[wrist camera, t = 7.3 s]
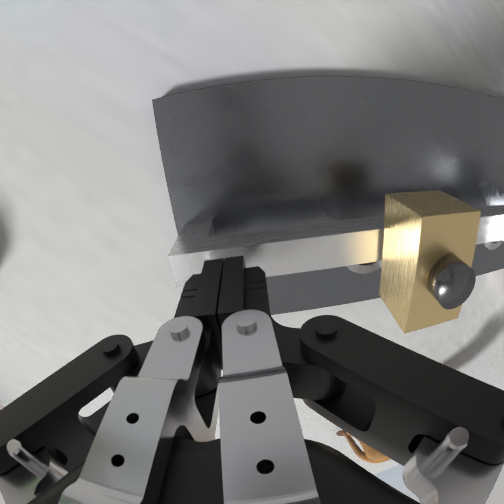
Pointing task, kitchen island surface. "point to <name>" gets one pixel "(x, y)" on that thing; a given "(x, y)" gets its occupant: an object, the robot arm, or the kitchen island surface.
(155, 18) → the kitchen island surface
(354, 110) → the bolt plate
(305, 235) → the divider frame
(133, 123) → the kitchen island surface
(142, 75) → the kitchen island surface
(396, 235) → the block
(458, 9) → the kitchen island surface
